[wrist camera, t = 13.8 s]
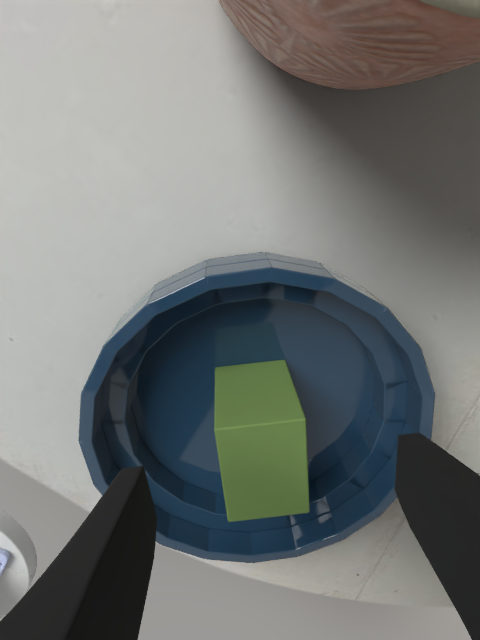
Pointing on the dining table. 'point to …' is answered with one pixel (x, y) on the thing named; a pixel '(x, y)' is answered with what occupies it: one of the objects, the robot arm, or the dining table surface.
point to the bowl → (242, 348)
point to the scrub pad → (260, 441)
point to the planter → (361, 38)
